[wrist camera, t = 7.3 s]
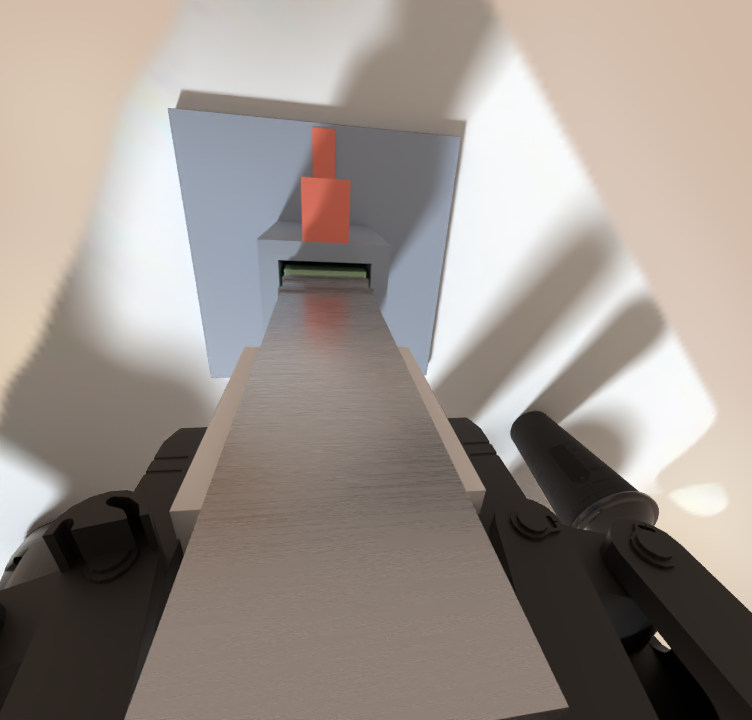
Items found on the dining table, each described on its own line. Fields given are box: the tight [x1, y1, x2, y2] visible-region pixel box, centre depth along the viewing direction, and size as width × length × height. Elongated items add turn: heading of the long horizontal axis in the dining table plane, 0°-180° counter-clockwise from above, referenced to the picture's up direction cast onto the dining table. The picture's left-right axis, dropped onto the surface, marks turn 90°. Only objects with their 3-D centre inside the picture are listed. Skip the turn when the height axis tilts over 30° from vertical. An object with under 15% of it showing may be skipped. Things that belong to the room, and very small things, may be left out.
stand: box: [168, 108, 461, 378], centre depth 25 cm, size 20×20×11 cm
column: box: [124, 261, 569, 720], centre depth 14 cm, size 4×4×22 cm
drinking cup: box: [510, 411, 659, 534], centre depth 33 cm, size 8×8×20 cm
